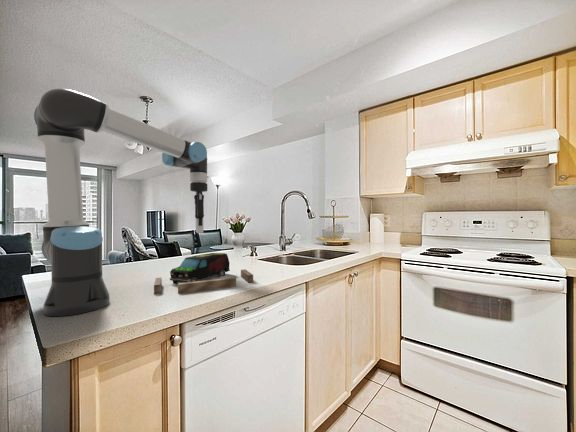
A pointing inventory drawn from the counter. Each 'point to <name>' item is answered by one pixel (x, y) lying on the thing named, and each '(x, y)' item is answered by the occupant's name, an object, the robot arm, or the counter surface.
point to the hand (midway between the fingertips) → (199, 232)
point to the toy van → (200, 267)
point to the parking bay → (205, 283)
